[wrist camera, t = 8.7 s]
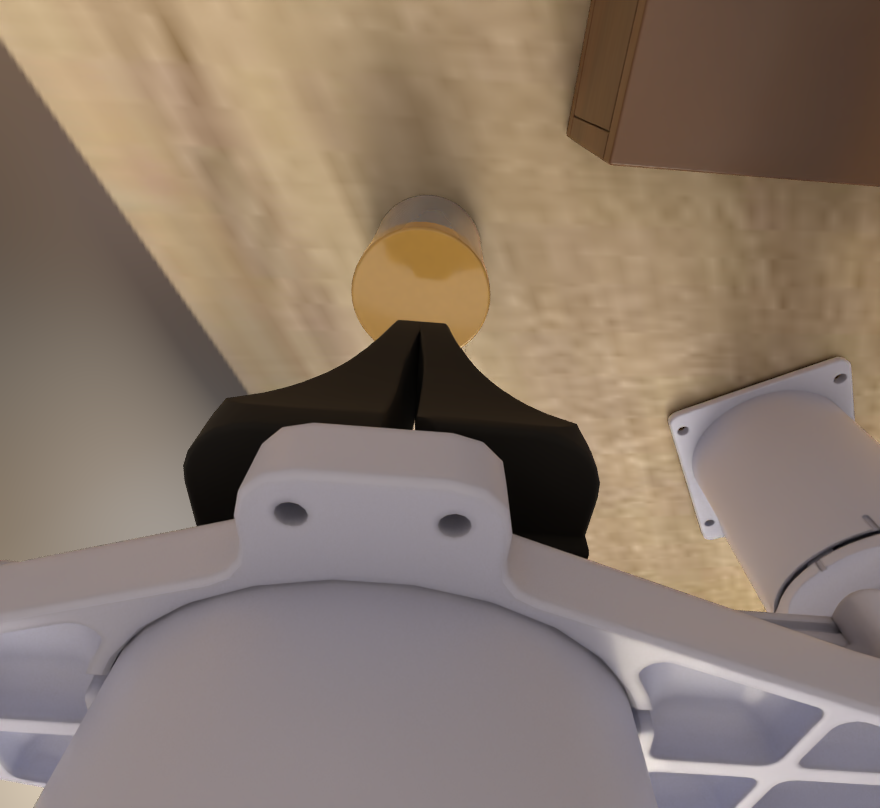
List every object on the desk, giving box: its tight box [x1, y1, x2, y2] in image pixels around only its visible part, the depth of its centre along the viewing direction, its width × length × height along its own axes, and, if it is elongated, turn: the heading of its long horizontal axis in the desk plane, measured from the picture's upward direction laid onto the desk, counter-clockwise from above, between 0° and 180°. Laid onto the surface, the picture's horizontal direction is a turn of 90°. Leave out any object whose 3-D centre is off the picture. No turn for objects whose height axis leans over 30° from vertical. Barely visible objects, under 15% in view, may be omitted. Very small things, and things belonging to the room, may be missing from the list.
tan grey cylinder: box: [351, 195, 490, 348], centre depth 19 cm, size 5×5×5 cm
